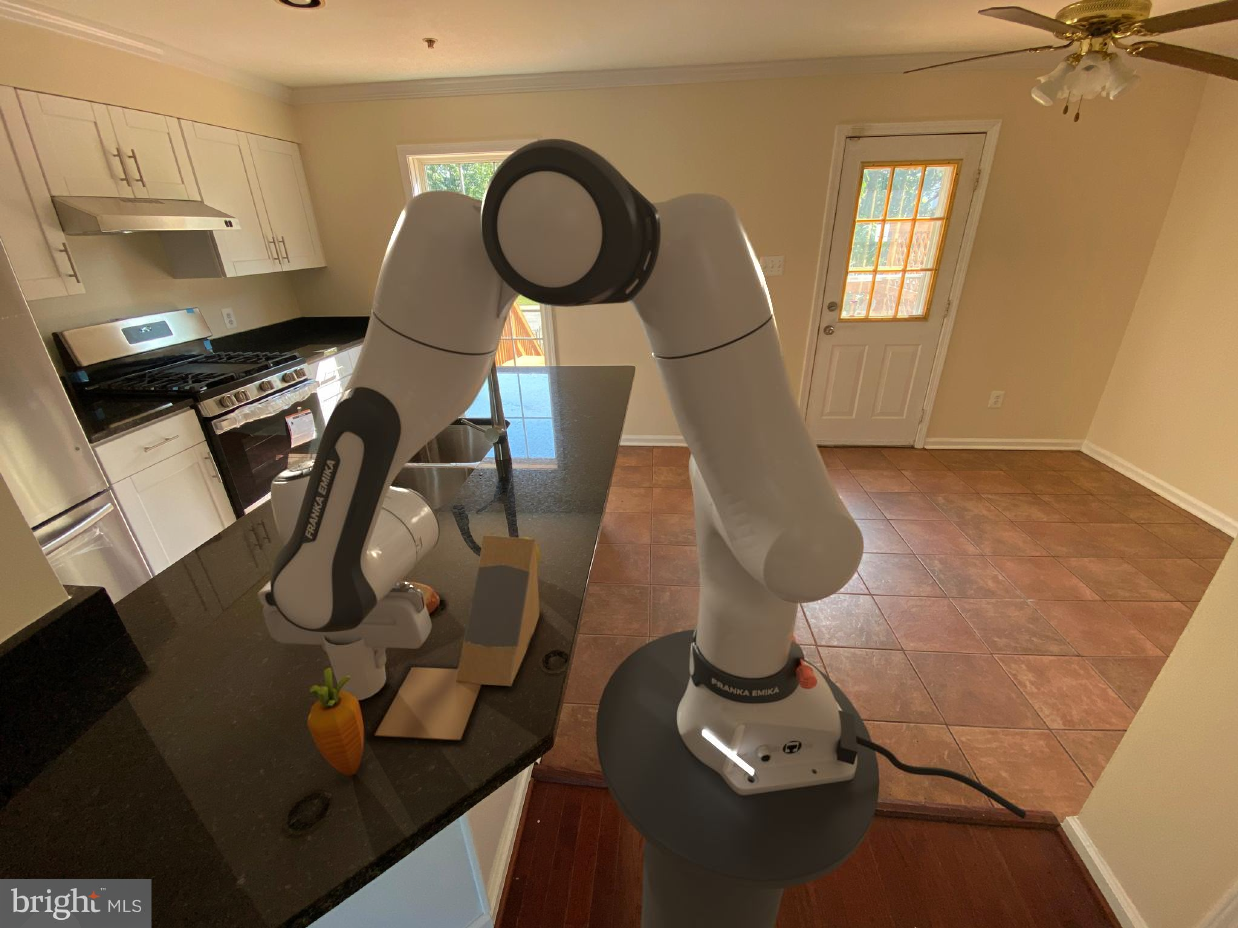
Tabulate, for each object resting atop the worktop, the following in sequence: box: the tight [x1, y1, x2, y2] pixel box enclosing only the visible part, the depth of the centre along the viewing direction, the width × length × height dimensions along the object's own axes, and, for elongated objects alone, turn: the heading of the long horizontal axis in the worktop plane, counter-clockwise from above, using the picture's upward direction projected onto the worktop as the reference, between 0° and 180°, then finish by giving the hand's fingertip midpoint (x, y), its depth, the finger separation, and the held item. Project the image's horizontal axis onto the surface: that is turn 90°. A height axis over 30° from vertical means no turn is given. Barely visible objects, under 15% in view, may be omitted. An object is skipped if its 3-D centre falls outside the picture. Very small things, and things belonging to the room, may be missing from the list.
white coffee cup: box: [322, 636, 387, 701], centre depth 67 cm, size 7×7×10 cm
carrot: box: [307, 666, 365, 777], centre depth 55 cm, size 5×5×15 cm
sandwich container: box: [456, 534, 540, 687], centre depth 74 cm, size 9×15×15 cm, turn 173°
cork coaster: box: [374, 666, 483, 741], centre depth 67 cm, size 11×11×1 cm
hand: (362, 664), depth 68 cm, fingers closed on white coffee cup, 3 cm apart
